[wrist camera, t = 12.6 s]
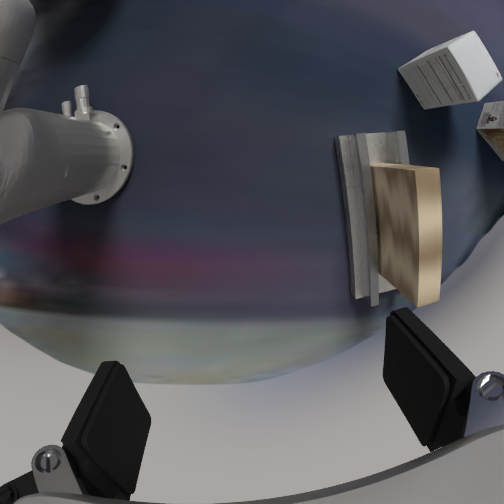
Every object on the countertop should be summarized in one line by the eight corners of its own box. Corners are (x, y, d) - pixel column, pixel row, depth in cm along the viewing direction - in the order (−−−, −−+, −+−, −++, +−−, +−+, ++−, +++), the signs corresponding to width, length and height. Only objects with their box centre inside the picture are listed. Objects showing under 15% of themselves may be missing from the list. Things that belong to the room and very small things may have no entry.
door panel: (364, 165, 35) (414, 170, 24) (384, 163, 35) (438, 168, 24) (373, 268, 40) (417, 307, 28) (392, 264, 40) (439, 300, 28)
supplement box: (424, 50, 32) (475, 28, 20) (449, 91, 34) (505, 80, 22) (395, 68, 33) (446, 45, 21) (423, 111, 35) (480, 102, 23)
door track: (333, 137, 36) (347, 134, 31) (393, 132, 36) (412, 130, 31) (350, 293, 43) (363, 308, 38) (403, 280, 43) (419, 293, 38)
